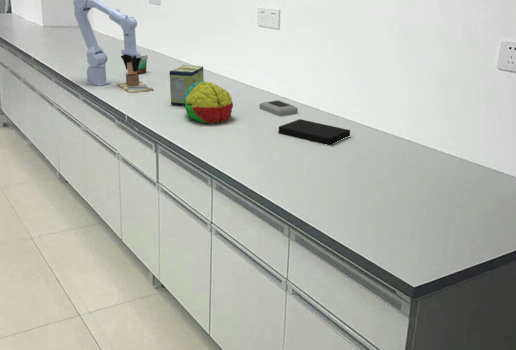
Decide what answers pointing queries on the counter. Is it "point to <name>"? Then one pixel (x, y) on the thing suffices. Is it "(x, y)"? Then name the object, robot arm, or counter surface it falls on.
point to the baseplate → (124, 86)
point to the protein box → (183, 82)
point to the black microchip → (314, 131)
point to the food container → (142, 65)
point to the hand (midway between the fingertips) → (131, 70)
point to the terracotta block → (130, 69)
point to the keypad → (278, 108)
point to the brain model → (208, 103)
